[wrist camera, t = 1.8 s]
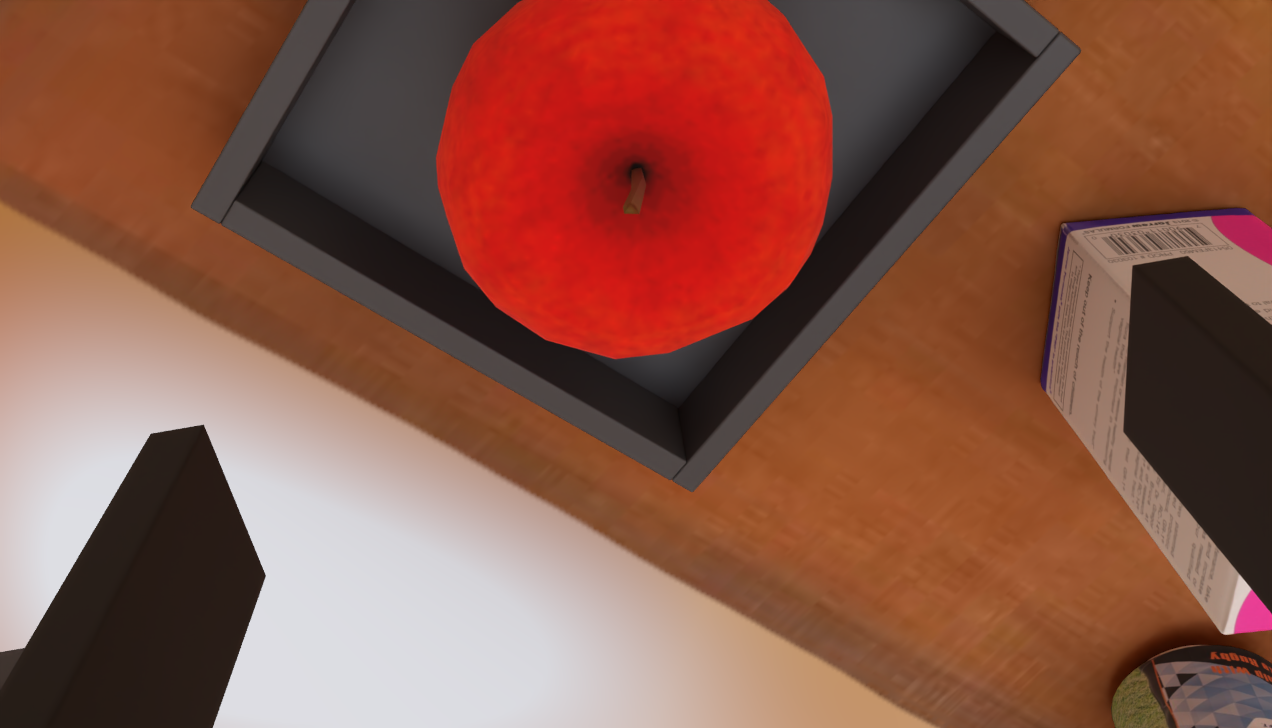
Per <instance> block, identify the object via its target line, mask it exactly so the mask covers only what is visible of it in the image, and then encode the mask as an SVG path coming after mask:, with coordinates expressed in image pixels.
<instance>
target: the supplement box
mask: <svg viewBox="0 0 1272 728" xmlns="http://www.w3.org/2000/svg"><path fill="white" fill-rule="evenodd" d="M1184 256H1189V257H1190V258H1191V259H1192V260H1193V261H1195V262H1196V263H1197V264H1198V265H1200V266H1201V267H1202V268H1203V269H1204V270H1206V271H1207V272H1208V273H1209V274H1210V275H1212V276H1213V277H1214V278H1215V279H1217V280H1218V281H1219V282H1220V283H1221V284H1223V285H1224V286H1225V287H1226V288H1228V289H1229V290H1230V291H1231V292H1232V293H1234V294H1235V295H1236V296H1237V297H1239V298H1240V299H1241V300H1242V301H1243V302H1245V303H1246V304H1247V305H1248V306H1249V307H1251V308H1252V309H1253V310H1254V311H1256V312H1257V313H1258V314H1259V315H1260V316H1262V317H1263V318H1264V319H1265V320H1267V321H1268V322H1269V323H1270V324H1271V325H1272V228H1271V227H1269V226H1268V225H1267V224H1265V223H1264V222H1263V221H1261V220H1260V219H1259V218H1257V217H1256V216H1255V215H1253V214H1252V213H1251V212H1249V211H1248V210H1247V209H1246V208H1230V209H1220V210H1206V211H1194V212H1180V213H1171V214H1159V215H1148V216H1138V217H1127V218H1115V219H1104V220H1094V221H1083V222H1070V223H1063V224H1062V225H1061V230H1060V235H1059V240H1058V248H1057V256H1056V265H1055V274H1054V282H1053V290H1052V296H1051V306H1050V312H1049V321H1048V327H1047V333H1046V340H1045V346H1044V356H1043V364H1042V372H1041V378H1040V379H1041V386H1042V388H1043V390H1044V391H1045V392H1046V393H1047V394H1048V396H1049V397H1050V399H1051V400H1052V402H1053V403H1054V404H1055V406H1056V407H1057V409H1058V410H1059V411H1060V413H1061V414H1062V415H1063V417H1064V418H1065V419H1066V421H1067V422H1068V423H1069V425H1070V426H1071V427H1072V429H1073V430H1074V431H1075V433H1076V434H1077V436H1078V437H1079V438H1080V440H1081V441H1082V442H1083V444H1084V445H1085V446H1086V448H1087V449H1088V451H1089V452H1090V453H1091V455H1092V456H1093V457H1094V459H1095V460H1096V461H1097V463H1098V464H1099V466H1100V467H1101V468H1102V470H1103V471H1104V473H1105V474H1106V476H1107V477H1108V478H1109V480H1110V481H1111V482H1112V484H1113V485H1114V486H1115V488H1116V489H1117V490H1118V492H1119V493H1120V495H1121V496H1122V497H1123V499H1124V500H1125V502H1126V503H1127V504H1128V506H1129V507H1130V508H1131V510H1132V511H1133V513H1134V514H1135V515H1136V517H1137V518H1138V519H1139V521H1140V522H1141V523H1142V525H1143V526H1144V528H1145V529H1146V530H1147V532H1148V533H1149V535H1150V536H1151V537H1152V539H1153V540H1154V541H1155V543H1156V544H1157V546H1158V547H1159V548H1160V550H1161V551H1162V552H1163V554H1164V555H1165V556H1166V558H1167V559H1168V561H1169V562H1170V563H1171V565H1172V566H1173V568H1174V569H1175V570H1176V572H1177V573H1178V574H1179V576H1180V577H1181V579H1182V580H1183V581H1184V583H1185V584H1186V585H1187V587H1188V588H1189V590H1190V591H1191V593H1192V594H1193V595H1194V597H1195V598H1196V599H1197V600H1198V602H1199V603H1200V604H1201V606H1202V607H1203V609H1204V610H1205V611H1206V613H1207V614H1208V615H1209V617H1210V618H1211V620H1212V621H1213V623H1214V624H1215V625H1216V627H1217V628H1218V630H1219V631H1220V632H1221V633H1222V634H1225V635H1230V634H1236V633H1245V632H1256V631H1265V630H1272V614H1271V613H1270V611H1269V610H1268V609H1267V608H1266V606H1265V605H1264V604H1263V603H1262V601H1261V600H1260V599H1259V598H1258V597H1257V595H1256V594H1255V593H1254V592H1253V590H1252V589H1251V588H1250V587H1249V586H1248V584H1247V583H1246V582H1245V581H1244V579H1243V578H1242V577H1241V576H1240V575H1239V573H1238V572H1237V571H1236V570H1235V568H1234V567H1233V566H1232V565H1231V563H1230V562H1229V561H1228V560H1227V559H1226V557H1225V556H1224V555H1223V554H1222V552H1221V551H1220V550H1219V549H1218V548H1217V546H1216V545H1215V544H1214V543H1213V541H1212V540H1211V539H1210V538H1209V537H1208V535H1207V534H1206V533H1205V532H1204V530H1203V529H1202V528H1201V527H1200V525H1199V524H1198V523H1197V522H1196V521H1195V519H1194V518H1193V517H1192V516H1191V514H1190V513H1189V512H1188V511H1187V510H1186V508H1185V507H1184V506H1183V505H1182V503H1181V502H1180V501H1179V500H1178V499H1177V497H1176V496H1175V495H1174V494H1173V492H1172V491H1171V490H1170V489H1169V487H1168V486H1167V485H1166V484H1165V483H1164V481H1163V480H1162V479H1161V478H1160V476H1159V475H1158V474H1157V473H1156V472H1155V470H1154V469H1153V468H1152V467H1151V465H1150V464H1149V463H1148V462H1147V461H1146V459H1145V458H1144V457H1143V456H1142V454H1141V453H1140V452H1139V451H1138V449H1137V448H1136V447H1135V446H1134V445H1133V443H1132V442H1131V441H1130V440H1129V438H1128V437H1127V436H1126V435H1125V434H1124V432H1123V424H1124V406H1125V388H1126V370H1127V352H1128V335H1129V317H1130V299H1131V281H1132V265H1138V264H1143V263H1149V262H1155V261H1161V260H1167V259H1173V258H1178V257H1184Z"/></svg>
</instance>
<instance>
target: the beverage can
mask: <svg viewBox="0 0 1272 728" xmlns="http://www.w3.org/2000/svg"><path fill="white" fill-rule="evenodd" d="M1111 711H1112V719H1113V722H1114V725H1115V728H1272V664H1271V663H1270V662H1269V661H1267V660H1265V659H1264V658H1262V657H1261V656H1259V655H1257V654H1254V653H1252V652H1249V651H1247V650H1244V649H1240V648H1235V647H1230V646H1221V645H1191V646H1183V647H1179V648H1175V649H1171V650H1168V651H1166V652H1163V653H1160V654H1158V655H1156V656H1154V657H1153V658H1151V659H1149V660H1148V661H1146V662H1145V663H1143V664H1142V665H1140V666H1139V667H1137V668H1136V669H1135V670H1133V671H1132V672H1131V673H1130V674H1129V675H1128V676H1127V677H1126V678H1125V679H1124V680H1123V681H1122V683H1121V684H1120V685H1119V687H1118V688H1117V690H1116V693H1115V695H1114V697H1113V701H1112V707H1111Z"/></svg>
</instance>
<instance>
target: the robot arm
mask: <svg viewBox="0 0 1272 728" xmlns="http://www.w3.org/2000/svg"><path fill="white" fill-rule="evenodd" d="M1123 432H1124V434H1125V435H1126V436H1127V437H1128V438H1129V440H1130V441H1131V442H1132V443H1133V445H1134V446H1135V447H1136V448H1137V449H1138V451H1139V452H1140V453H1141V454H1142V456H1143V457H1144V458H1145V459H1146V461H1147V462H1148V463H1149V464H1150V465H1151V467H1152V468H1153V469H1154V470H1155V472H1156V473H1157V474H1158V475H1159V476H1160V478H1161V479H1162V480H1163V481H1164V483H1165V484H1166V485H1167V486H1168V487H1169V489H1170V490H1171V491H1172V492H1173V494H1174V495H1175V496H1176V497H1177V499H1178V500H1179V501H1180V502H1181V503H1182V505H1183V506H1184V507H1185V508H1186V510H1187V511H1188V512H1189V513H1190V514H1191V516H1192V517H1193V518H1194V519H1195V521H1196V522H1197V523H1198V524H1199V525H1200V527H1201V528H1202V529H1203V530H1204V532H1205V533H1206V534H1207V535H1208V537H1209V538H1210V539H1211V540H1212V541H1213V543H1214V544H1215V545H1216V546H1217V548H1218V549H1219V550H1220V551H1221V552H1222V554H1223V555H1224V556H1225V557H1226V559H1227V560H1228V561H1229V562H1230V563H1231V565H1232V566H1233V567H1234V568H1235V570H1236V571H1237V572H1238V573H1239V575H1240V576H1241V577H1242V578H1243V579H1244V581H1245V582H1246V583H1247V584H1248V586H1249V587H1250V588H1251V589H1252V590H1253V592H1254V593H1255V594H1256V595H1257V597H1258V598H1259V599H1260V600H1261V601H1262V603H1263V604H1264V605H1265V606H1266V608H1267V609H1268V610H1269V611H1270V613H1271V614H1272V325H1271V324H1270V323H1269V322H1268V321H1267V320H1265V319H1264V318H1263V317H1262V316H1260V315H1259V314H1258V313H1257V312H1256V311H1254V310H1253V309H1252V308H1251V307H1249V306H1248V305H1247V304H1246V303H1245V302H1243V301H1242V300H1241V299H1240V298H1239V297H1237V296H1236V295H1235V294H1234V293H1232V292H1231V291H1230V290H1229V289H1228V288H1226V287H1225V286H1224V285H1223V284H1221V283H1220V282H1219V281H1218V280H1217V279H1215V278H1214V277H1213V276H1212V275H1210V274H1209V273H1208V272H1207V271H1206V270H1204V269H1203V268H1202V267H1201V266H1200V265H1198V264H1197V263H1196V262H1195V261H1193V260H1192V259H1191V258H1190V257H1189V256H1184V257H1178V258H1173V259H1167V260H1161V261H1155V262H1149V263H1143V264H1138V265H1132V281H1131V299H1130V317H1129V335H1128V352H1127V370H1126V388H1125V406H1124V424H1123ZM265 576H266V575H265V573H264V570H263V568H262V565H261V563H260V560H259V558H258V556H257V553H256V551H255V548H254V546H253V543H252V541H251V539H250V536H249V534H248V531H247V529H246V527H245V524H244V522H243V519H242V517H241V514H240V512H239V509H238V507H237V504H236V502H235V500H234V497H233V495H232V492H231V490H230V488H229V485H228V483H227V480H226V478H225V475H224V473H223V470H222V468H221V466H220V463H219V461H218V458H217V456H216V453H215V451H214V449H213V446H212V444H211V441H210V439H209V436H208V434H207V432H206V429H205V427H204V425H200V426H194V427H188V428H182V429H176V430H171V431H165V432H160V433H153V434H150V436H149V438H148V439H147V441H146V443H145V445H144V446H143V448H142V450H141V451H140V453H139V455H138V457H137V458H136V460H135V462H134V463H133V465H132V467H131V469H130V470H129V472H128V473H127V475H126V477H125V479H124V481H123V482H122V484H121V485H120V487H119V489H118V490H117V492H116V494H115V496H114V498H113V499H112V501H111V503H110V504H109V506H108V508H107V509H106V511H105V513H104V514H103V516H102V518H101V519H100V521H99V523H98V525H97V526H96V528H95V530H94V531H93V533H92V535H91V537H90V538H89V540H88V542H87V543H86V545H85V547H84V548H83V550H82V552H81V553H80V555H79V557H78V559H77V560H76V562H75V564H74V565H73V567H72V569H71V571H70V572H69V574H68V576H67V577H66V579H65V581H64V582H63V584H62V586H61V588H60V589H59V591H58V593H57V594H56V596H55V598H54V600H53V601H52V603H51V605H50V606H49V608H48V610H47V611H46V613H45V615H44V617H43V618H42V620H41V622H40V623H39V625H38V627H37V629H36V630H35V632H34V633H33V635H32V637H31V639H30V640H29V642H28V644H27V645H26V647H25V648H23V649H17V650H11V651H5V652H0V728H213V725H214V722H215V719H216V717H217V714H218V711H219V707H220V705H221V702H222V699H223V696H224V693H225V691H226V688H227V685H228V682H229V679H230V676H231V674H232V671H233V668H234V665H235V662H236V659H237V657H238V654H239V651H240V648H241V645H242V642H243V639H244V637H245V634H246V631H247V628H248V625H249V622H250V619H251V616H252V614H253V611H254V608H255V605H256V602H257V599H258V597H259V594H260V591H261V588H262V585H263V582H264V579H265Z"/></svg>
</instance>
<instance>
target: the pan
mask: <svg viewBox="0 0 1272 728" xmlns="http://www.w3.org/2000/svg"><path fill="white" fill-rule="evenodd" d="M520 1H522V0H308V1H307V2H306V4H305V6H304V8H303V9H302V11H301V13H300V15H299V16H298V18H297V20H296V22H295V23H294V25H293V27H292V29H291V30H290V32H289V34H288V36H287V38H286V39H285V41H284V43H283V45H282V46H281V48H280V50H279V52H278V53H277V55H276V57H275V59H274V60H273V62H272V64H271V66H270V67H269V69H268V71H267V73H266V74H265V76H264V78H263V80H262V81H261V83H260V85H259V87H258V89H257V90H256V92H255V94H254V96H253V97H252V99H251V101H250V103H249V104H248V106H247V108H246V110H245V111H244V113H243V115H242V117H241V118H240V120H239V122H238V124H237V125H236V127H235V129H234V131H233V132H232V134H231V136H230V138H229V140H228V141H227V143H226V145H225V147H224V148H223V150H222V152H221V154H220V155H219V157H218V159H217V161H216V162H215V164H214V166H213V168H212V169H211V171H210V173H209V175H208V176H207V178H206V180H205V182H204V183H203V185H202V187H201V189H200V191H199V192H198V194H197V196H196V198H195V199H194V201H193V203H192V205H191V208H192V209H194V210H196V211H198V212H199V213H201V214H203V215H205V216H206V217H208V218H210V219H212V220H213V221H215V222H217V223H219V224H220V223H221V225H222V226H224V227H226V228H228V229H230V230H231V231H233V232H235V233H237V234H238V235H240V236H242V237H244V238H245V239H247V240H249V241H251V242H252V243H254V244H256V245H258V246H259V247H261V248H263V249H265V250H266V251H268V252H270V253H272V254H273V255H275V256H277V257H279V258H280V259H282V260H284V261H286V262H288V263H289V264H291V265H293V266H295V267H296V268H298V269H300V270H302V271H303V272H305V273H307V274H309V275H310V276H312V277H314V278H316V279H317V280H319V281H321V282H323V283H324V284H326V285H328V286H330V287H331V288H333V289H335V290H337V291H338V292H340V293H342V294H344V295H345V296H347V297H349V298H351V299H353V300H354V301H356V302H358V303H360V304H361V305H363V306H365V307H367V308H368V309H370V310H372V311H374V312H375V313H377V314H379V315H381V316H382V317H384V318H386V319H388V320H389V321H391V322H393V323H395V324H396V325H398V326H400V327H402V328H403V329H405V330H407V331H409V332H411V333H412V334H414V335H416V336H418V337H419V338H421V339H423V340H425V341H426V342H428V343H430V344H432V345H433V346H435V347H437V348H439V349H440V350H442V351H444V352H446V353H447V354H449V355H451V356H453V357H454V358H456V359H458V360H460V361H461V362H463V363H465V364H467V365H468V366H470V367H472V368H474V369H476V370H477V371H479V372H481V373H483V374H484V375H486V376H488V377H490V378H491V379H493V380H495V381H497V382H498V383H500V384H502V385H504V386H505V387H507V388H509V389H511V390H512V391H514V392H516V393H518V394H519V395H521V396H523V397H525V398H526V399H528V400H530V401H532V402H534V403H535V404H537V405H539V406H541V407H542V408H544V409H546V410H548V411H549V412H551V413H553V414H555V415H556V416H558V417H560V418H562V419H563V420H565V421H567V422H569V423H570V424H572V425H574V426H576V427H577V428H579V429H581V430H583V431H584V432H586V433H588V434H590V435H591V436H593V437H595V438H597V439H599V440H600V441H602V442H604V443H606V444H607V445H609V446H611V447H613V448H614V449H616V450H618V451H620V452H621V453H623V454H625V455H627V456H628V457H630V458H632V459H634V460H635V461H637V462H639V463H641V464H642V465H644V466H646V467H648V468H649V469H651V470H653V471H655V472H657V473H658V474H660V475H662V476H664V477H665V478H667V479H669V480H673V482H675V483H677V484H678V485H680V486H682V487H684V488H685V489H687V490H689V491H691V492H693V491H695V489H696V488H697V487H698V486H699V485H700V484H701V483H702V481H703V480H704V479H705V478H706V477H707V476H708V475H709V474H710V472H711V471H712V470H713V469H714V468H715V467H716V466H717V464H718V463H719V462H720V461H721V460H722V459H723V458H724V457H725V455H726V454H727V453H728V452H729V451H730V450H731V449H732V447H733V446H734V445H735V444H736V443H737V442H738V441H739V439H740V438H741V437H742V436H743V435H744V434H745V433H746V432H747V430H748V429H749V428H750V427H751V426H752V425H753V424H754V422H755V421H756V420H757V419H758V418H759V417H760V416H761V415H762V413H763V412H764V411H765V410H766V409H767V408H768V407H769V405H770V404H771V403H772V402H773V401H774V400H775V399H776V398H777V396H778V395H779V394H780V393H781V392H782V391H783V390H784V388H785V387H786V386H787V385H788V384H789V383H790V382H791V380H792V379H793V378H794V377H795V376H796V375H797V374H798V373H799V371H800V370H801V369H802V368H803V367H804V366H805V365H806V363H807V362H808V361H809V360H810V359H811V358H812V357H813V356H814V354H815V353H816V352H817V351H818V350H819V349H820V348H821V346H822V345H823V344H824V343H825V342H826V341H827V340H828V338H829V337H830V336H831V335H832V334H833V333H834V332H835V331H836V329H837V328H838V327H839V326H840V325H841V324H842V323H843V321H844V320H845V319H846V318H847V317H848V316H849V315H850V314H851V312H852V311H853V310H854V309H855V308H856V307H857V306H858V304H859V303H860V302H861V301H862V300H863V299H864V298H865V296H866V295H867V294H868V293H869V292H870V291H871V290H872V289H873V287H874V286H875V285H876V284H877V283H878V282H879V281H880V279H881V278H882V277H883V276H884V275H885V274H886V273H887V272H888V270H889V269H890V268H891V267H892V266H893V265H894V264H895V262H896V261H897V260H898V259H899V258H900V257H901V256H902V254H903V253H904V252H905V251H906V250H907V249H908V248H909V247H910V245H911V244H912V243H913V242H914V241H915V240H916V239H917V237H918V236H919V235H920V234H921V233H922V232H923V231H924V230H925V228H926V227H927V226H928V225H929V224H930V223H931V222H932V220H933V219H934V218H935V217H936V216H937V215H938V214H939V212H940V211H941V210H942V209H943V208H944V207H945V206H946V205H947V203H948V202H949V201H950V200H951V199H952V198H953V197H954V195H955V194H956V193H957V192H958V191H959V190H960V189H961V188H962V186H963V185H964V184H965V183H966V182H967V181H968V180H969V178H970V177H971V176H972V175H973V174H974V173H975V172H976V170H977V169H978V168H979V167H980V166H981V165H982V164H983V163H984V161H985V160H986V159H987V158H988V157H989V156H990V155H991V153H992V152H993V151H994V150H995V149H996V148H997V147H998V146H999V144H1000V143H1001V142H1002V141H1003V140H1004V139H1005V138H1006V136H1007V135H1008V134H1009V133H1010V132H1011V131H1012V130H1013V128H1014V127H1015V126H1016V125H1017V124H1018V123H1019V122H1020V121H1021V119H1022V118H1023V117H1024V116H1025V115H1026V114H1027V113H1028V111H1029V110H1030V109H1031V108H1032V107H1033V106H1034V105H1035V104H1036V102H1037V101H1038V100H1039V99H1040V98H1041V97H1042V96H1043V94H1044V93H1045V92H1046V91H1047V90H1048V89H1049V88H1050V86H1051V85H1052V84H1053V83H1054V82H1055V81H1056V80H1057V79H1058V77H1059V76H1060V75H1061V74H1062V73H1063V72H1064V71H1065V69H1066V68H1067V67H1068V66H1069V65H1070V64H1071V63H1072V62H1073V60H1074V59H1075V58H1076V57H1077V56H1078V55H1079V54H1080V52H1081V49H1080V47H1078V46H1077V45H1076V44H1075V43H1074V42H1072V41H1071V40H1070V39H1069V38H1068V37H1067V36H1065V35H1064V34H1063V33H1062V32H1060V31H1059V30H1058V29H1057V28H1056V27H1055V26H1054V25H1053V24H1051V23H1050V22H1049V21H1048V20H1047V19H1045V18H1044V17H1043V16H1042V15H1041V14H1040V13H1038V12H1037V11H1036V10H1035V9H1034V8H1032V7H1031V6H1030V5H1029V4H1028V3H1027V2H1025V1H1024V0H768V1H769V2H770V3H771V4H772V5H773V6H775V7H776V8H777V9H778V10H779V11H780V12H781V13H782V14H783V15H784V16H785V17H786V19H787V20H788V22H789V23H790V25H791V27H792V28H793V30H794V31H795V33H796V34H797V36H798V37H799V39H800V40H801V42H802V43H803V45H804V47H805V48H806V50H807V51H808V53H809V54H810V56H811V57H812V59H813V60H814V62H815V63H816V65H817V67H818V68H819V70H820V71H821V73H822V74H823V76H824V79H825V84H826V89H827V93H828V98H829V103H830V107H831V112H832V182H831V187H830V192H829V197H828V202H827V207H826V211H825V216H824V221H823V225H822V228H821V230H820V233H819V235H818V238H817V240H816V243H815V245H814V248H813V250H812V253H811V255H810V256H809V258H808V259H807V261H806V262H805V264H804V265H803V267H802V268H801V270H800V271H799V273H798V274H797V275H796V277H795V278H794V280H793V281H792V283H791V284H790V286H789V287H788V288H787V289H786V290H785V291H784V292H782V293H781V294H780V295H779V296H778V297H777V298H776V299H774V300H773V301H772V302H771V303H770V304H769V305H768V306H766V307H765V308H764V309H763V310H762V311H761V312H760V313H759V314H757V315H756V316H755V317H754V318H753V319H751V320H749V321H746V322H744V323H741V324H739V325H736V326H734V327H731V328H729V329H727V330H724V331H722V332H719V333H717V334H714V335H712V336H709V337H707V338H704V339H702V340H699V341H697V342H695V343H692V344H690V345H687V346H685V347H682V348H680V349H677V350H675V351H672V352H670V353H664V354H655V355H646V356H637V357H628V358H620V359H613V358H609V357H605V356H602V355H598V354H594V353H591V352H587V351H584V350H580V349H576V348H573V347H569V346H565V345H562V344H558V343H554V342H551V341H547V340H545V339H543V338H542V337H540V336H539V335H537V334H536V333H534V332H533V331H531V330H530V329H528V328H527V327H525V326H524V325H522V324H521V323H519V322H518V321H516V320H515V319H513V318H512V317H510V316H509V315H507V314H505V313H504V312H502V311H501V310H499V309H498V308H496V307H495V305H494V304H493V303H492V302H491V301H490V299H489V298H488V297H487V296H486V295H485V293H484V292H483V291H482V290H481V288H480V287H479V286H478V285H477V284H476V282H475V281H474V280H473V279H472V278H471V276H470V275H469V274H468V273H467V271H466V270H465V269H464V267H463V264H462V261H461V258H460V255H459V252H458V249H457V246H456V243H455V240H454V237H453V234H452V231H451V228H450V225H449V222H448V219H447V216H446V213H445V210H444V206H443V202H442V199H441V195H440V192H439V188H438V181H437V166H436V155H437V151H438V146H439V142H440V138H441V133H442V129H443V125H444V120H445V116H446V111H447V107H448V103H449V98H450V94H451V90H452V86H453V84H454V82H455V80H456V78H457V76H458V74H459V72H460V70H461V68H462V66H463V64H464V62H465V60H466V58H467V56H468V53H469V51H470V49H471V47H472V45H473V44H474V43H475V42H476V41H477V40H478V39H479V38H480V37H481V36H482V35H483V34H484V33H485V32H487V31H488V30H489V29H490V28H491V27H492V26H493V25H494V24H495V23H496V22H497V21H498V20H500V19H501V18H502V17H503V16H504V15H505V14H506V13H507V12H508V11H509V10H510V9H511V8H513V7H514V6H515V5H516V4H517V3H518V2H520Z"/></svg>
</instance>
